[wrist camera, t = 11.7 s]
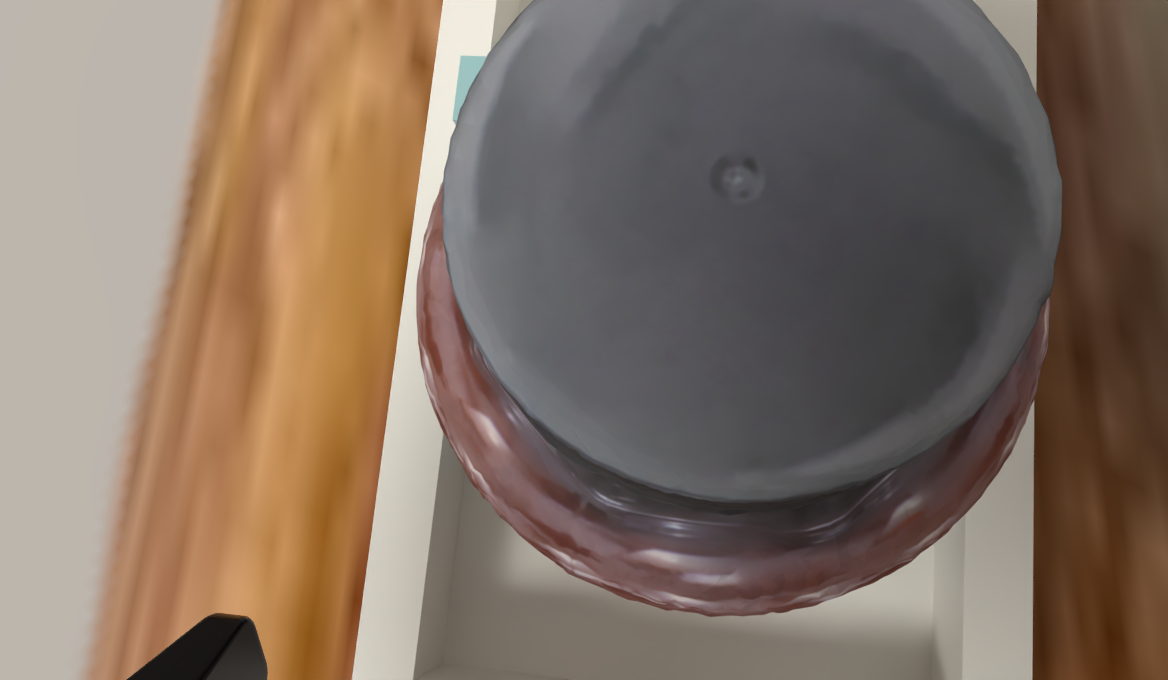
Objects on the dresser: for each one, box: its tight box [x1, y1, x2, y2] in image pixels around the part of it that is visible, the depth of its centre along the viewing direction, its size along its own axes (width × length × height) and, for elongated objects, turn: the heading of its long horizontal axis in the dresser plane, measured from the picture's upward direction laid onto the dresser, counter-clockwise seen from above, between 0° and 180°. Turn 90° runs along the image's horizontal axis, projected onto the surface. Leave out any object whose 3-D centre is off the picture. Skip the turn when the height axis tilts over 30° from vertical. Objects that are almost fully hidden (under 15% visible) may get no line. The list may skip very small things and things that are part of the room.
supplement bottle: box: [416, 0, 1062, 617], centre depth 11 cm, size 6×6×11 cm
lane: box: [352, 0, 1037, 680], centre depth 15 cm, size 20×10×7 cm, turn 175°
